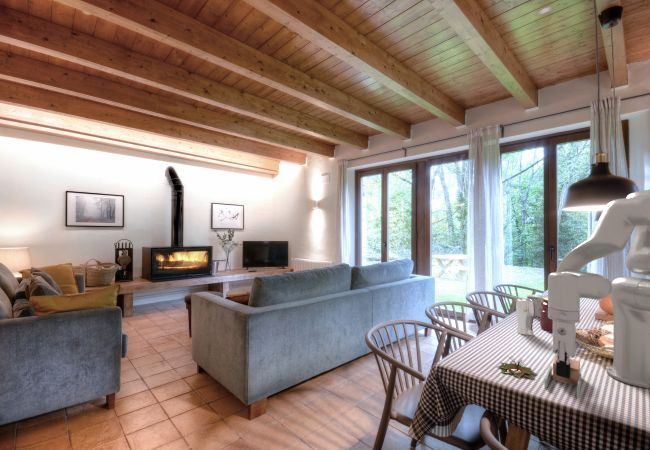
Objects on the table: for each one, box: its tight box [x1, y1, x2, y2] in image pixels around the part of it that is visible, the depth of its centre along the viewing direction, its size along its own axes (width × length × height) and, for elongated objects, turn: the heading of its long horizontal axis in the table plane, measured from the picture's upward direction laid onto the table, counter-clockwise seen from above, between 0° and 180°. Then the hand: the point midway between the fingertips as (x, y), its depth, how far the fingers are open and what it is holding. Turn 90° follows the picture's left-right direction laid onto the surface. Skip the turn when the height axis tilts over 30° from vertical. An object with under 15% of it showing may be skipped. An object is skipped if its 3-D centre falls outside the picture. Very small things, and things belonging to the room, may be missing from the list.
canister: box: [539, 294, 553, 333], centre depth 141 cm, size 13×13×18 cm
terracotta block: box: [552, 355, 581, 387], centre depth 95 cm, size 6×8×5 cm
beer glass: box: [515, 297, 535, 337], centre depth 136 cm, size 7×7×15 cm
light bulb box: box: [526, 293, 546, 318], centre depth 165 cm, size 11×7×11 cm, turn 58°
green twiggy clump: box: [496, 355, 539, 380], centre depth 99 cm, size 12×12×5 cm
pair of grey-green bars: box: [544, 365, 582, 398], centre depth 91 cm, size 8×12×2 cm, turn 138°
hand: (563, 375), depth 91 cm, fingers closed
